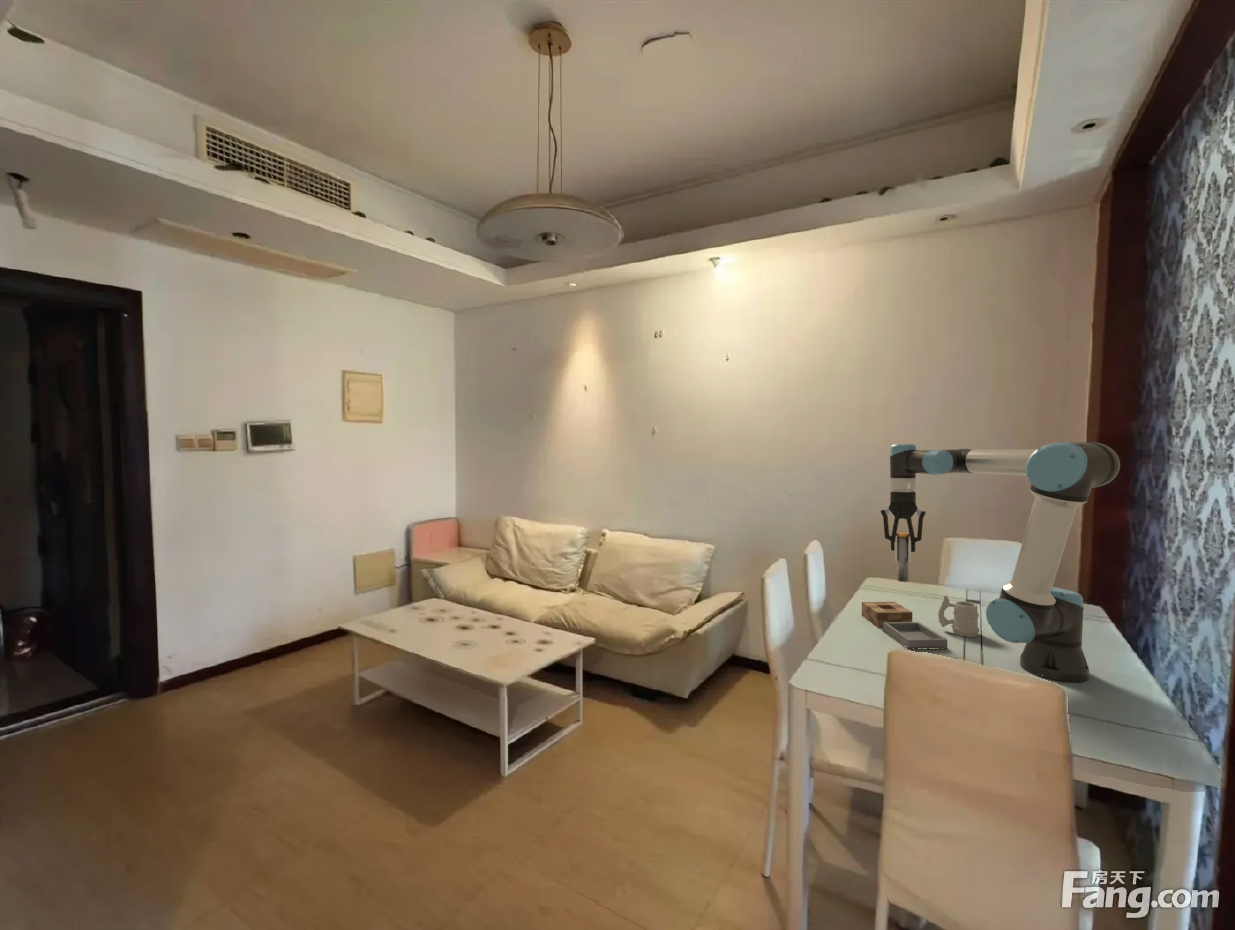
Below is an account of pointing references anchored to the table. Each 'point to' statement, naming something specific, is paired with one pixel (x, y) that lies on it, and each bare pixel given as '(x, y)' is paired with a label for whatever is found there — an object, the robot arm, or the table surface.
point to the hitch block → (885, 612)
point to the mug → (960, 617)
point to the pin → (902, 557)
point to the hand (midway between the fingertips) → (903, 561)
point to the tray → (914, 635)
